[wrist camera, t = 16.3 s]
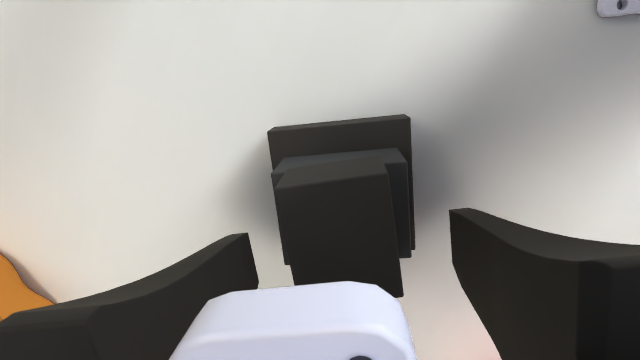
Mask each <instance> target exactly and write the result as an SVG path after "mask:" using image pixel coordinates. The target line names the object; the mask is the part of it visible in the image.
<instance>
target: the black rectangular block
mask: <svg viewBox="0 0 640 360" xmlns="http://www.w3.org/2000/svg"><path fill="white" fill-rule="evenodd" d="M376 155H381V157H382V160H383V162H384V164H385V167H386V169H387V172H388V175H389V183H390V191H391V199H392V207H393V215H394V222H395V230H396V238H397V246H398V254H399V258H410V257H411V235H410V212H409V189H408V165H407V161H406V160H405V158H404V157H403V155H402V154H401V152H400V151H399V150H398V148H385V149H374V150H363V151H352V152H341V153H330V154H319V155H308V156H297V157H286V158H283V159H282V161H281V162H280V163H279V164H278V166H277V167H276V168H275V169H274V171H273V172H272V173H271V177H272V184H273V190H274V188H275V187H276V185H277V184H278V182H279V181H280V179H281V178H282V176H283V175H284V173H285V172H286V170H287V169H291V168H297V167H304V166H310V165H317V164H323V163H330V162H337V161H343V160H350V159H356V158H363V157H369V156H376ZM274 197H275V193H274ZM275 204H276V210H277V217H278V223H279V230H280V237H281V243H282V250H283V257H284V263H285V265H290V262H289V257H288V253H287V248H286V244H285V239H284V234H283V230H282V225H281V221H280V216H279V211H278V207H277V202H276V198H275Z"/></svg>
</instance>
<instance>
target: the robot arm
mask: <svg viewBox="0 0 640 360" xmlns="http://www.w3.org/2000/svg"><path fill="white" fill-rule="evenodd" d="M618 1H619V0H598V2H597V12H598V14H599V15H600V16H602V17H613V16H621V15H629V14H638V13H640V0H620V1H621V2H622V8H621V9H620V10H619V9H618V8H617V3H618ZM449 216H450V232H451V248H452V263H453V266H454V269H455V271H456V274H457V277H458V279H459V281H460V284H461V286H462V288H463V290H464V292H465V294H466V295H467V297H468V299H469V300H470V302H471V304H472V306H473V307H474V309H475V311H476V313H477V314H478V316H479V318H480V319H481V321H482V323H483V325H484V326H485V328H486V330H487V331H488V333H489V335H490V337H491V338H492V340H493V342H494V344H495V346H496V348H497V350H498V352H499V354H500V356H501V359H502V360H640V245H630V244H618V243H608V242H600V241H592V240H585V239H579V238H572V237H567V236H563V235H558V234H553V233H548V232H544V231H540V230H537V229H533V228H530V227H526V226H523V225H520V224H517V223H513V222H510V221H507V220H505V219H502V218H499V217H496V216H493V215H490V214H488V213H485V212H482V211H479V210H476V209H472V208H461V209H453V210H449ZM258 284H259V280H258V275H257V271H256V267H255V262H254V258H253V253H252V249H251V245H250V240H249V236H248V233H240V234H232V235H229V236H226V237H224V238H222V239H220V240H218V241H216V242H214V243H212V244H210V245H208V246H207V247H205V248H203V249H201V250H200V251H198V252H196V253H194V254H192V255H191V256H189V257H187V258H185V259H183V260H181V261H179V262H177V263H175V264H173V265H171V266H169V267H167V268H165V269H163V270H161V271H159V272H157V273H154V274H152V275H149V276H147V277H145V278H142V279H140V280H137V281H135V282H132V283H129V284H126V285H123V286H120V287H117V288H114V289H111V290H109V291H105V292H102V293H98V294H95V295H92V296H88V297H84V298H80V299H76V300H72V301H68V302H64V303H59V304H54V305H49V306H44V307H39V308H34V309H29V310H23V311H18V312H15V313H12V314H11V315H9V316H8V317H7V318H5V319H4V320H2V321H1V322H0V360H417V356H416V352H415V348H414V344H413V340H412V335H411V331H410V327H409V323H408V321H407V318H406V316H405V314H404V312H403V309H402V307H401V305H400V302H399V301H398V300H397V299H396V298H394V297H393V296H391V295H390V294H388V293H387V292H386V291H384V290H383V289H381V288H380V287H378V286H377V285H373V284H366V283H359V282H351V281H342V282H331V283H321V284H310V285H299V286H288V287H277V288H267V289H257V288H258Z"/></svg>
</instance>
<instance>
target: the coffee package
mask: <svg viewBox="0 0 640 360" xmlns="http://www.w3.org/2000/svg"><path fill="white" fill-rule="evenodd" d="M49 305H54V304H53V303H52V302H50V301H49V300H47V299H46V298H44V297H42V296H40V295H38V294H36V293H35V292H33V291H31V290H30V289H29V288H28V287H26V285H25V284H24V283H23V282H22V280H21V279H20V277H19V275H18V273H17V271H16V270H15V268H14V267H13V266H12V264H11V263H10V262H9V261H8V260H7V259H6V258H5V257H3V256H2V255H1V254H0V322H1V321H2V320H4V319H5V318H7V317H8V316H9V315H11V314H12V313H15V312H18V311H23V310H29V309H34V308H39V307H44V306H49Z"/></svg>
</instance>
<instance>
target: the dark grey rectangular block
mask: <svg viewBox="0 0 640 360" xmlns="http://www.w3.org/2000/svg"><path fill="white" fill-rule="evenodd" d="M274 193H275V198H276V202H277V207H278V211H279V216H280V221H281V225H282V230H283V234H284V239H285V244H286V248H287V253H288V257H289V262H290V267H291V271H292V276H293V280H294V285H295V286H299V285H310V284H321V283H331V282H342V281H351V282H359V283H366V284H373V285H377V286H378V287H380V288H381V289H383V290H384V291H386V292H387V293H388V294H390V295H391V296H393V297H394V298H399V297H403V295H404V294H403V286H402V278H401V270H400V262H399V254H398V246H397V238H396V230H395V222H394V215H393V207H392V199H391V191H390V183H389V175H388V172H387V169H386V167H385V164H384V162H383V160H382V157H381V155H376V156H369V157H363V158H356V159H350V160H343V161H337V162H330V163H323V164H317V165H310V166H304V167H297V168H291V169H287V170H286V172H285V173H284V175H283V176H282V178H281V179H280V181H279V182H278V184H277V185H276V187H275V188H274Z"/></svg>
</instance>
